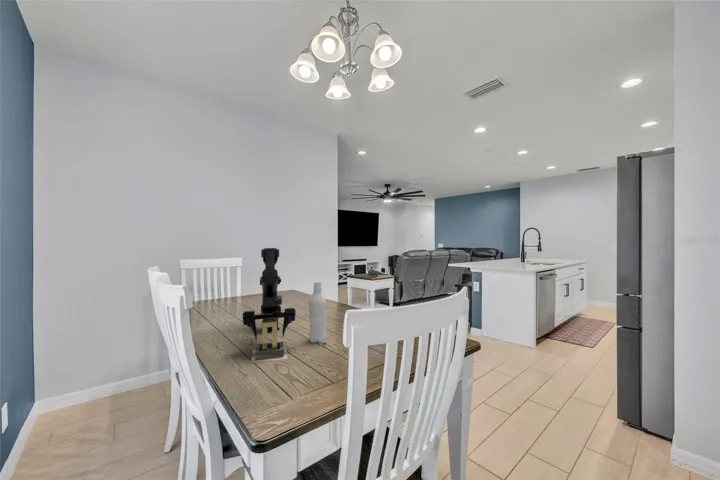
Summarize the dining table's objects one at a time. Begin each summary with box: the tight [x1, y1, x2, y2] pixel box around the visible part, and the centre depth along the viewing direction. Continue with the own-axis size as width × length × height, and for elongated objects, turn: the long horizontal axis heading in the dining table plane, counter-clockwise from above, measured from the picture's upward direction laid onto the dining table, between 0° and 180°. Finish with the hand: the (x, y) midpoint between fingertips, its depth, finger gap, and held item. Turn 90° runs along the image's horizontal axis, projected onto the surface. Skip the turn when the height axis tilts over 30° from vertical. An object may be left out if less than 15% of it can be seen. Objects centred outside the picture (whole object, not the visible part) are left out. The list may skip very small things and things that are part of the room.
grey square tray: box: [250, 341, 289, 364], centre depth 103 cm, size 12×12×4 cm
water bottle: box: [308, 281, 328, 344], centre depth 117 cm, size 7×7×25 cm
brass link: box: [261, 319, 278, 351], centre depth 103 cm, size 4×5×12 cm
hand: (269, 337), depth 102 cm, fingers open, 9 cm apart
